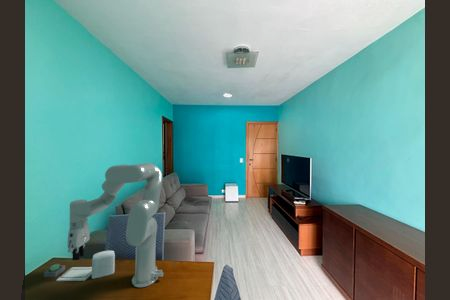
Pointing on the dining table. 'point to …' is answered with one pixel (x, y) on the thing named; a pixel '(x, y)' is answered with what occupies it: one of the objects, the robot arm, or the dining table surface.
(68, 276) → the paper board
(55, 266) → the button
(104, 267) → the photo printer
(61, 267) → the button housing
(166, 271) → the dining table surface
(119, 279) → the dining table surface
